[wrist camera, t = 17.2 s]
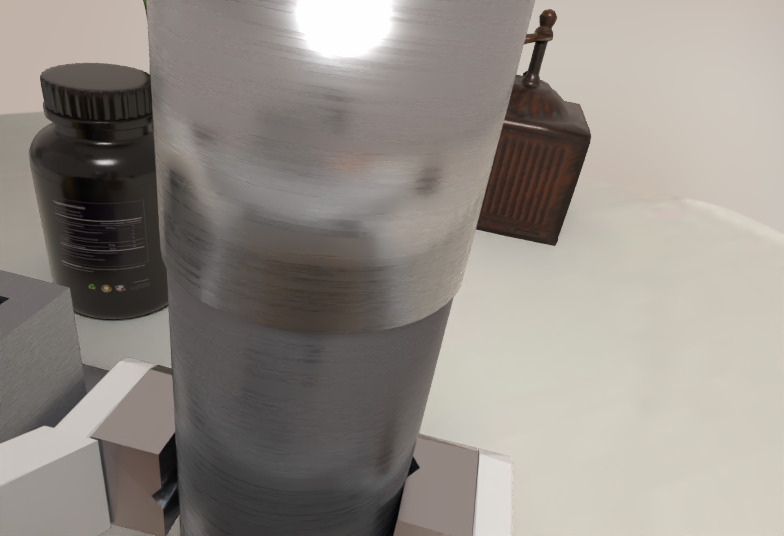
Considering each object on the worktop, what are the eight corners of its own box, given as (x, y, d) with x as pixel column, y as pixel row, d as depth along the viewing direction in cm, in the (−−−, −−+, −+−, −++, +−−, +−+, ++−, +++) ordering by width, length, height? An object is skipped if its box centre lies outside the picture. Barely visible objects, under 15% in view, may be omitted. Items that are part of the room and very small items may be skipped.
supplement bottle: (73, 255, 35) (41, 49, 28) (191, 258, 36) (185, 65, 30) (37, 324, 29) (-12, 86, 23) (179, 324, 31) (170, 103, 24)
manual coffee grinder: (550, 197, 55) (616, -5, 46) (558, 248, 46) (642, 8, 37) (396, 163, 57) (430, -39, 48) (372, 206, 47) (409, -36, 38)
